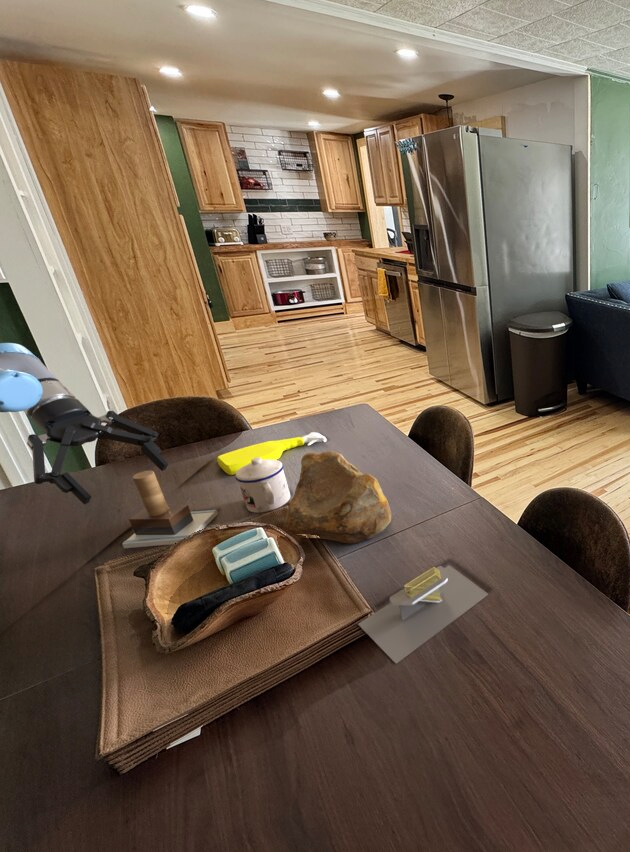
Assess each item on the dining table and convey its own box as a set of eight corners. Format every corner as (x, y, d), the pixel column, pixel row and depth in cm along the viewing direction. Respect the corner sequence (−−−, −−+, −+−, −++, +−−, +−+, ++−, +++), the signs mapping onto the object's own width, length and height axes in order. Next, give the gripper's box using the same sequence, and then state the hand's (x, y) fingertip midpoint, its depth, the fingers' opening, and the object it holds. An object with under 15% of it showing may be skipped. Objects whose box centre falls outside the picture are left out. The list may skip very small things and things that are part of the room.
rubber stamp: (135, 535, 98) (111, 481, 93) (156, 520, 102) (134, 468, 97) (175, 535, 98) (152, 481, 93) (193, 520, 102) (173, 468, 97)
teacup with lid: (242, 501, 111) (228, 458, 106) (286, 487, 117) (274, 445, 112) (252, 525, 103) (237, 479, 98) (299, 508, 109) (287, 464, 104)
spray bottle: (216, 464, 126) (314, 434, 144) (230, 478, 120) (330, 445, 138) (213, 455, 125) (312, 426, 143) (227, 468, 119) (328, 436, 137)
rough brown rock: (270, 531, 102) (245, 475, 95) (343, 490, 114) (325, 438, 107) (328, 578, 91) (305, 518, 84) (403, 527, 103) (388, 471, 96)
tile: (124, 548, 96) (121, 543, 95) (158, 518, 105) (156, 513, 104) (190, 542, 97) (188, 537, 97) (218, 514, 106) (216, 509, 106)
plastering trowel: (488, 594, 85) (485, 565, 83) (396, 664, 72) (389, 632, 70) (449, 565, 92) (445, 537, 90) (357, 623, 79) (350, 593, 77)
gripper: (122, 397, 111) (188, 463, 112) (-37, 443, 89) (46, 525, 90) (129, 378, 107) (196, 447, 108) (-36, 422, 85) (52, 507, 87)
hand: (129, 483), depth 99 cm, fingers open, 13 cm apart
